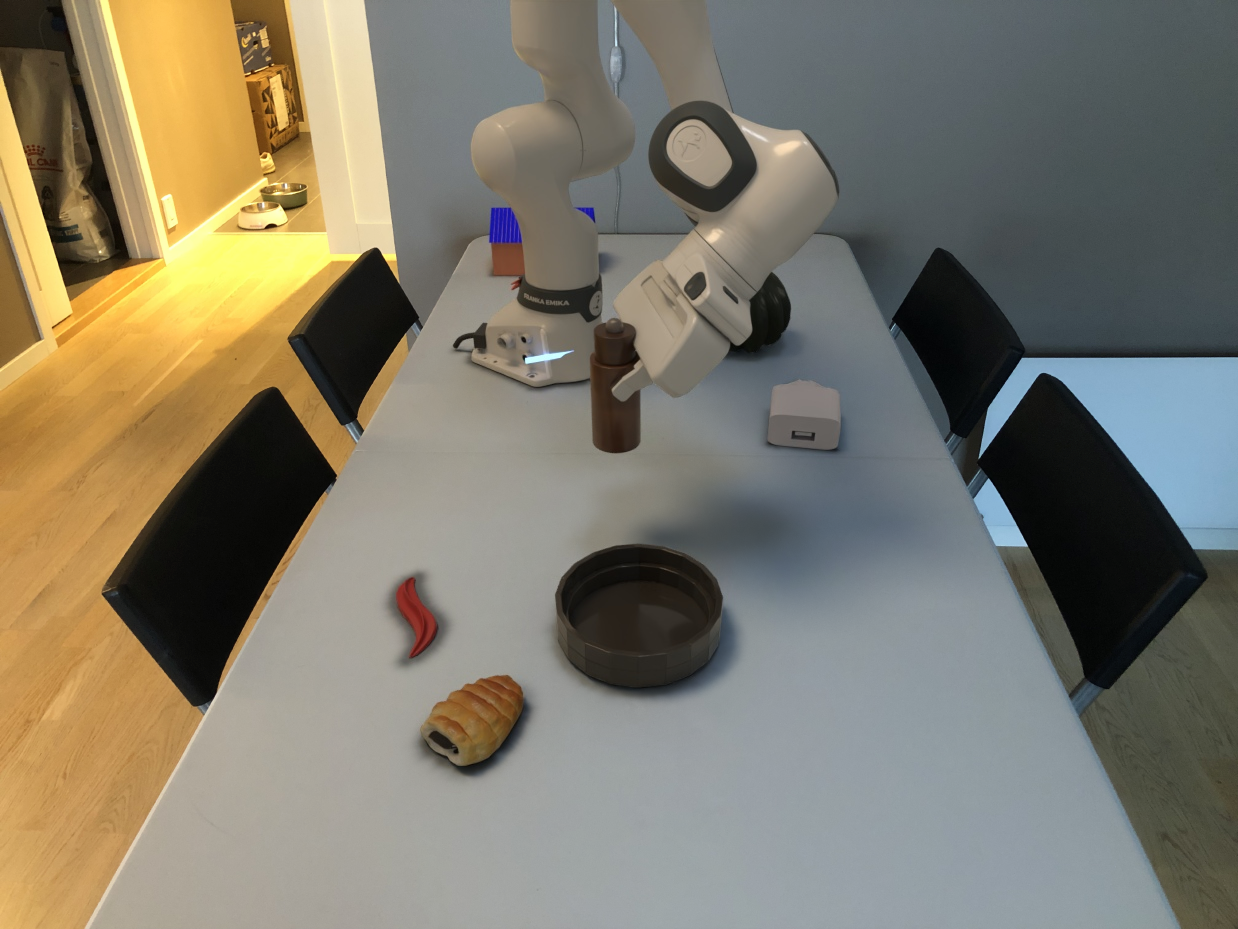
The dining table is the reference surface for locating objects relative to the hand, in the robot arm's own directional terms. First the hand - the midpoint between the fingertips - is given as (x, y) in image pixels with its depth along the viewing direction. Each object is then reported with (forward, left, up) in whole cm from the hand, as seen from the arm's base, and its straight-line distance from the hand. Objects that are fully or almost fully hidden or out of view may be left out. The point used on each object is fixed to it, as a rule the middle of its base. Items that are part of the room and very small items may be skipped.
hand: (609, 380), depth 89 cm
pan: (+10, -13, -20) cm, 26 cm away
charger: (+11, +35, -20) cm, 42 cm away
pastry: (+3, -31, -20) cm, 37 cm away
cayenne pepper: (-11, -22, -20) cm, 31 cm away
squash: (-6, +55, -20) cm, 59 cm away
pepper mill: (0, 0, -7) cm, 7 cm away
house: (-55, +71, -20) cm, 92 cm away
